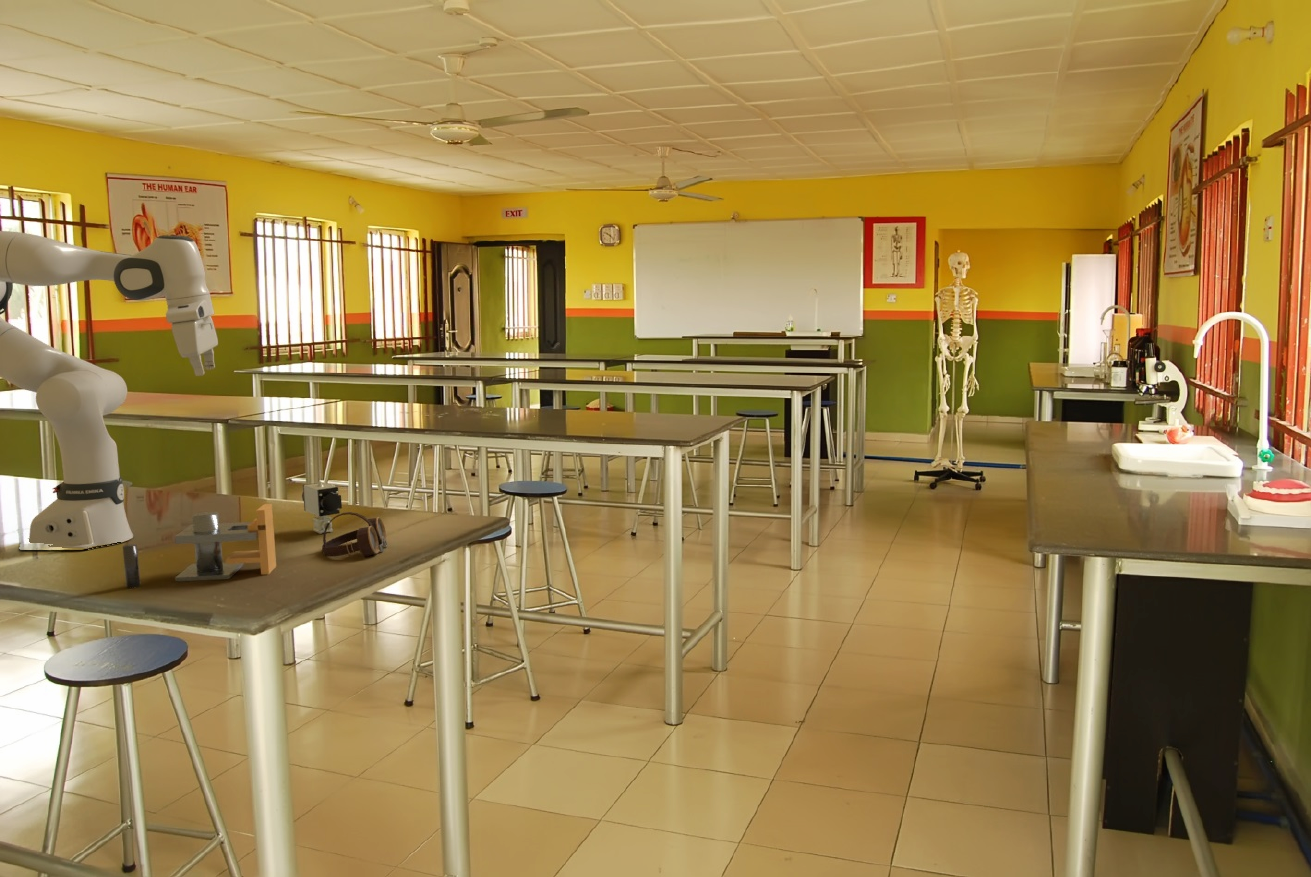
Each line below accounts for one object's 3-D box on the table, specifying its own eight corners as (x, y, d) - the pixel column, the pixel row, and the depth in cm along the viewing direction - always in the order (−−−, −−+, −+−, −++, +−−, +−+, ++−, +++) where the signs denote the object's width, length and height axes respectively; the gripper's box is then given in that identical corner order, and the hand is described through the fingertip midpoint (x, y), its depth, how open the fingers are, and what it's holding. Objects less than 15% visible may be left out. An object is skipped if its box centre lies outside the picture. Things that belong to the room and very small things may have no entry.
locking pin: (124, 588, 190) (120, 547, 189) (129, 584, 193) (125, 544, 192) (137, 587, 191) (133, 546, 189) (142, 584, 193) (138, 543, 192)
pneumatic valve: (324, 537, 228) (320, 486, 227) (303, 529, 237) (299, 479, 235) (347, 533, 232) (343, 482, 230) (325, 525, 241) (322, 476, 239)
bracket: (226, 576, 198) (221, 511, 196) (235, 568, 203) (230, 505, 202) (269, 574, 199) (264, 510, 197) (276, 566, 204) (271, 503, 203)
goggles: (380, 558, 209) (366, 512, 207) (318, 574, 209) (304, 528, 207) (393, 540, 224) (380, 498, 223) (336, 555, 224) (323, 512, 222)
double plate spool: (175, 581, 194) (170, 521, 193) (192, 567, 204) (187, 510, 203) (258, 577, 196) (254, 517, 195) (271, 563, 206) (266, 506, 205)
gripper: (188, 308, 227) (201, 367, 230) (163, 316, 208) (178, 381, 211) (217, 304, 228) (230, 363, 231) (195, 311, 209) (210, 376, 212)
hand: (205, 372), depth 221 cm, fingers open, 8 cm apart
